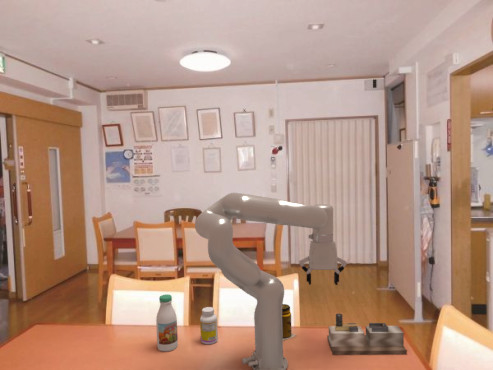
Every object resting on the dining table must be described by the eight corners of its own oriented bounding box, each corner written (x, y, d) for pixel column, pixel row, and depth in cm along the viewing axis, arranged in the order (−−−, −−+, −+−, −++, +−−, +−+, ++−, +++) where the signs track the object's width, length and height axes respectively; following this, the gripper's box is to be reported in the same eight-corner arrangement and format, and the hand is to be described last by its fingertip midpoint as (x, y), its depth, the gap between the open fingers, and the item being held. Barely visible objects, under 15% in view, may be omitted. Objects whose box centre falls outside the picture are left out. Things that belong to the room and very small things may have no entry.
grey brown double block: (333, 354, 135) (332, 337, 135) (327, 339, 147) (327, 322, 147) (406, 354, 134) (406, 336, 134) (395, 338, 146) (394, 322, 146)
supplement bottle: (205, 336, 153) (204, 305, 152) (220, 338, 151) (219, 306, 150) (197, 343, 147) (196, 311, 146) (213, 346, 145) (212, 313, 144)
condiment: (296, 336, 151) (295, 306, 150) (279, 342, 146) (278, 312, 145) (284, 329, 157) (283, 301, 156) (268, 335, 152) (267, 306, 152)
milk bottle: (153, 349, 143) (150, 298, 142) (166, 340, 150) (164, 291, 149) (169, 353, 140) (166, 301, 138) (182, 344, 146) (179, 294, 145)
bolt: (335, 330, 140) (335, 316, 139) (334, 327, 142) (334, 313, 142) (357, 330, 139) (357, 315, 139) (356, 327, 142) (355, 313, 141)
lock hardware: (350, 332, 139) (349, 327, 139) (347, 327, 143) (347, 323, 143) (388, 331, 138) (388, 327, 138) (384, 326, 142) (384, 322, 142)
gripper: (299, 239, 136) (300, 286, 137) (348, 240, 135) (348, 287, 136) (298, 236, 143) (298, 280, 144) (344, 236, 142) (344, 280, 143)
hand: (322, 283), depth 140 cm, fingers open, 9 cm apart
